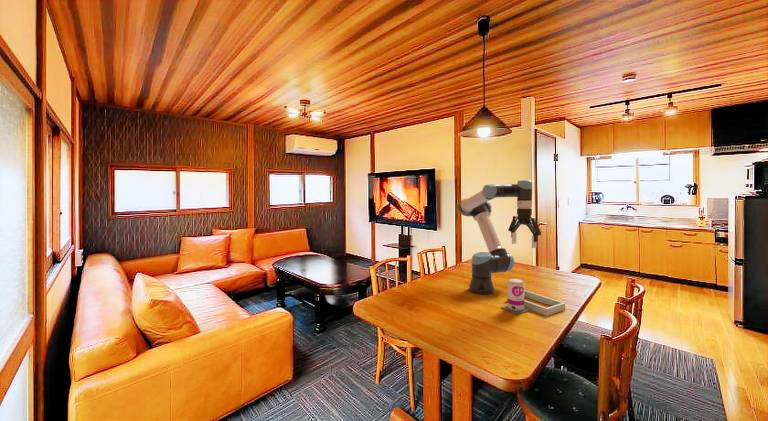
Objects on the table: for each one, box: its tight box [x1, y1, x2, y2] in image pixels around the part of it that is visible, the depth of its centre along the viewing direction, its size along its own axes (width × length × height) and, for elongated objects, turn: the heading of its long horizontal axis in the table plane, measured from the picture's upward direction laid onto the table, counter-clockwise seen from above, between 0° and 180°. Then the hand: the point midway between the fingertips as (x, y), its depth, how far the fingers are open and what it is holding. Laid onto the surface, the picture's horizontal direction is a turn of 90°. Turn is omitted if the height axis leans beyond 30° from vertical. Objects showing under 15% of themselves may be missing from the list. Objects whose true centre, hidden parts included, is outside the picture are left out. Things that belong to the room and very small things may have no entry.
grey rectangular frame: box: [524, 289, 566, 317], centre depth 165 cm, size 24×15×4 cm, turn 28°
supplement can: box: [506, 278, 526, 311], centre depth 159 cm, size 8×8×15 cm
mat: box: [501, 305, 532, 316], centre depth 160 cm, size 10×10×1 cm
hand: (523, 245), depth 171 cm, fingers open, 13 cm apart
